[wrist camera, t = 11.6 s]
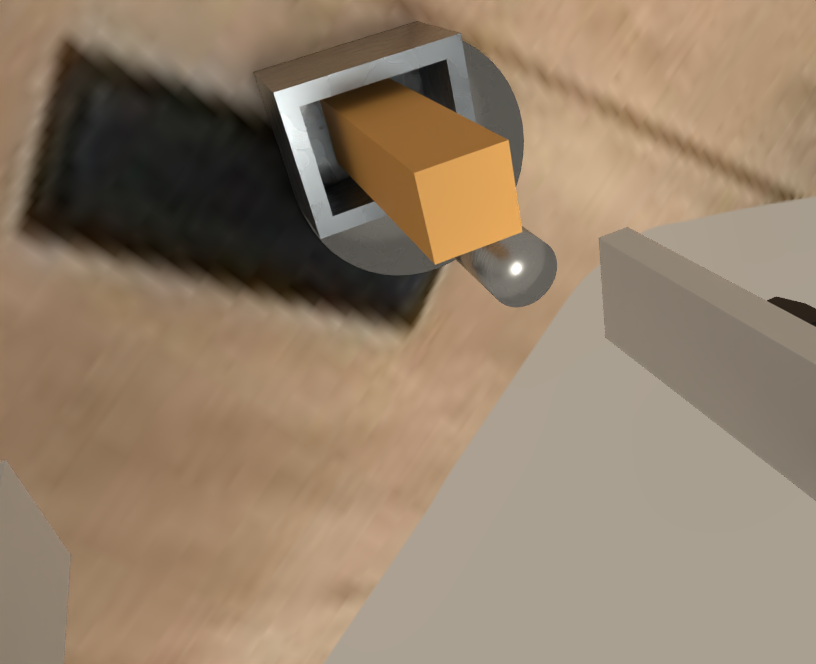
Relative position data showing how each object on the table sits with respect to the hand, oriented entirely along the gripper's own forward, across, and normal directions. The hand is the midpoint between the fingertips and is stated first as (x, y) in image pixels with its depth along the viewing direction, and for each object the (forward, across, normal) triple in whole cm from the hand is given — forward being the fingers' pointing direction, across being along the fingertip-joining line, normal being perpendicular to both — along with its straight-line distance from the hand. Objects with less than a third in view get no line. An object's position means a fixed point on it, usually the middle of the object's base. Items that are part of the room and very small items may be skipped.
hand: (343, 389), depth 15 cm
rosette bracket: (+30, +11, -6) cm, 32 cm away
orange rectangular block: (+28, +9, -2) cm, 30 cm away
